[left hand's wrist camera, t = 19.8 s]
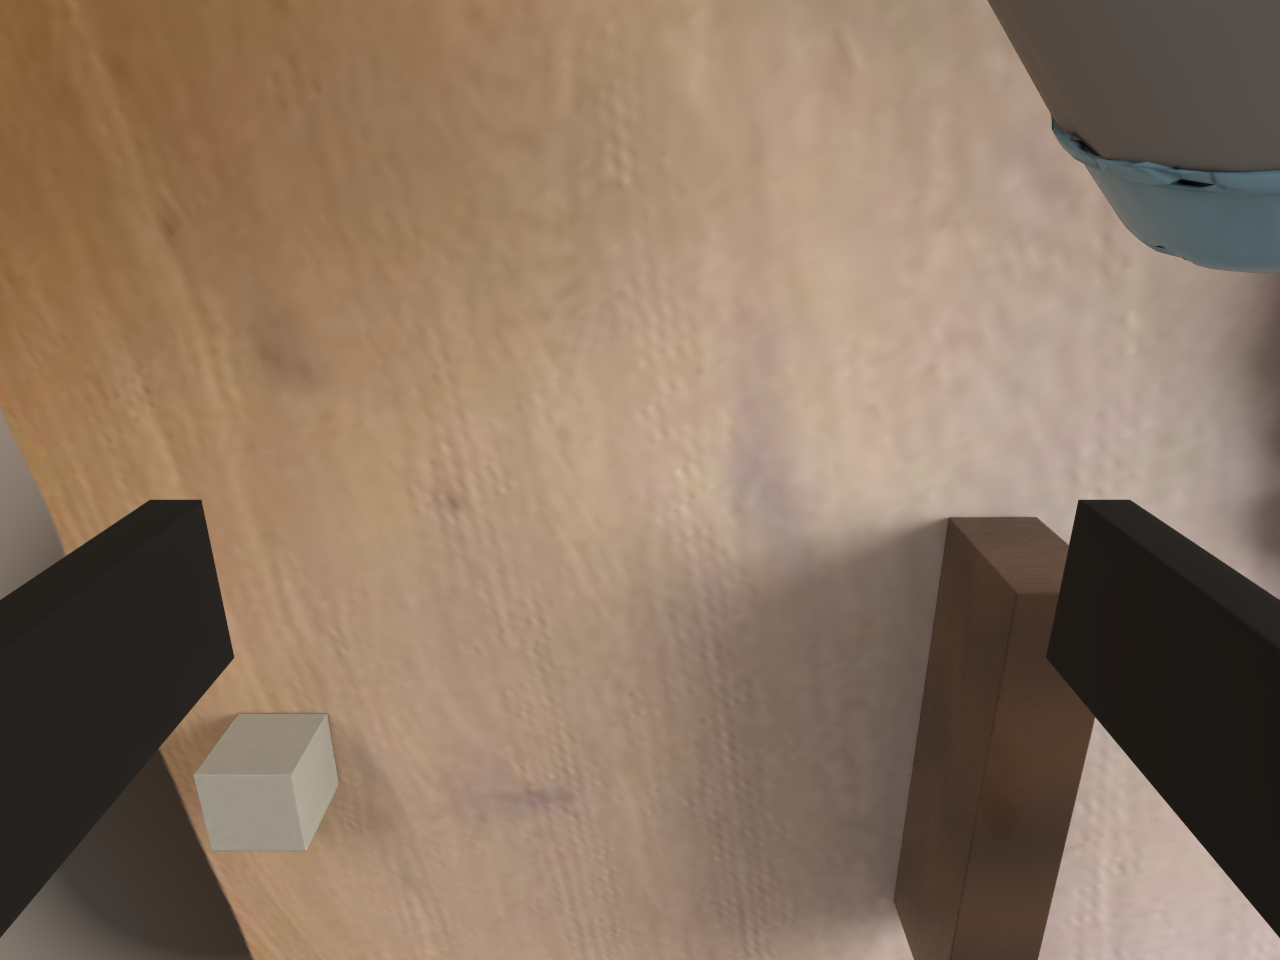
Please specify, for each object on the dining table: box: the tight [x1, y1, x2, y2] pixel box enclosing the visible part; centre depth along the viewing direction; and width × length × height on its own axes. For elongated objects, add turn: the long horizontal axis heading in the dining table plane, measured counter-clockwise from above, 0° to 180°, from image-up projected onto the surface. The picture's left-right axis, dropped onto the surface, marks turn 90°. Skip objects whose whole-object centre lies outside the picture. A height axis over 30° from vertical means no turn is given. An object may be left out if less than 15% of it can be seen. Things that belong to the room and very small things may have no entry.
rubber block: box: [193, 714, 339, 851], centre depth 44 cm, size 5×5×5 cm
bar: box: [894, 517, 1095, 960], centre depth 42 cm, size 26×4×8 cm, turn 0°
